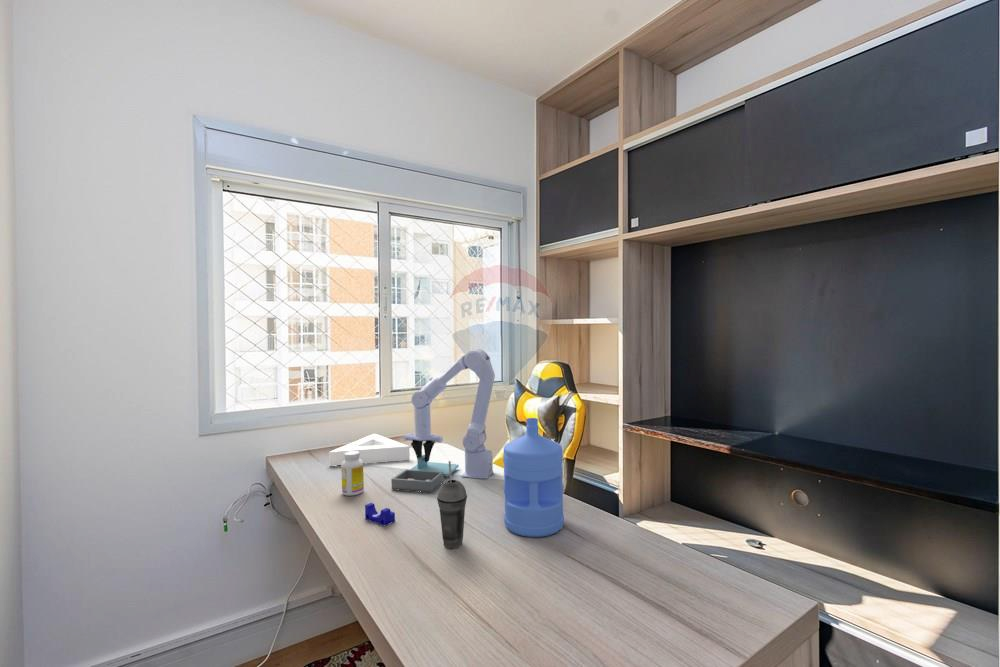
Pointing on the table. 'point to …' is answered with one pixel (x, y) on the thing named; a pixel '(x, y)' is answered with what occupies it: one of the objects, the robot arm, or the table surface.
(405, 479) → the tub
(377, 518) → the cable holder
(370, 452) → the triangular ruler
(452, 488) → the beverage cup
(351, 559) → the table surface
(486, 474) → the robot arm
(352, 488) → the supplement bottle
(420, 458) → the lid
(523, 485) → the water jug
